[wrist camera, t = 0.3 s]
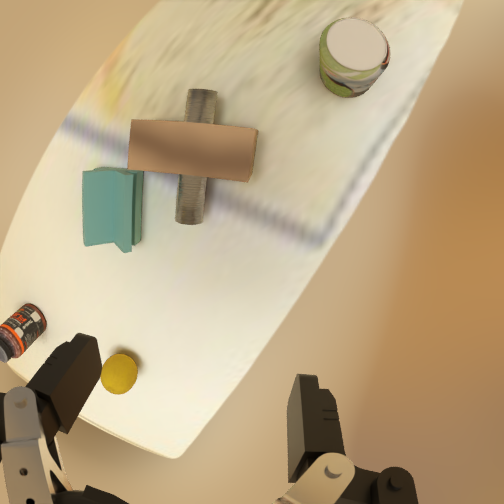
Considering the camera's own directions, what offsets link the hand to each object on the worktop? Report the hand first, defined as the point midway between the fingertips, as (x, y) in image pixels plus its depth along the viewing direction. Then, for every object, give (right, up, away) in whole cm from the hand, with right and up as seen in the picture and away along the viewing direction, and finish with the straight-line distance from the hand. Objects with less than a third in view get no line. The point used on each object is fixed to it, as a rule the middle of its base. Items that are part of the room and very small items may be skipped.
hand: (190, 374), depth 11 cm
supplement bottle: (-36, -7, +34) cm, 50 cm away
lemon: (-18, -12, +35) cm, 41 cm away
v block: (-14, +11, +26) cm, 32 cm away
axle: (-4, +15, +20) cm, 25 cm away
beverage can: (+12, +25, +19) cm, 34 cm away
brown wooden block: (-4, +14, +24) cm, 28 cm away
